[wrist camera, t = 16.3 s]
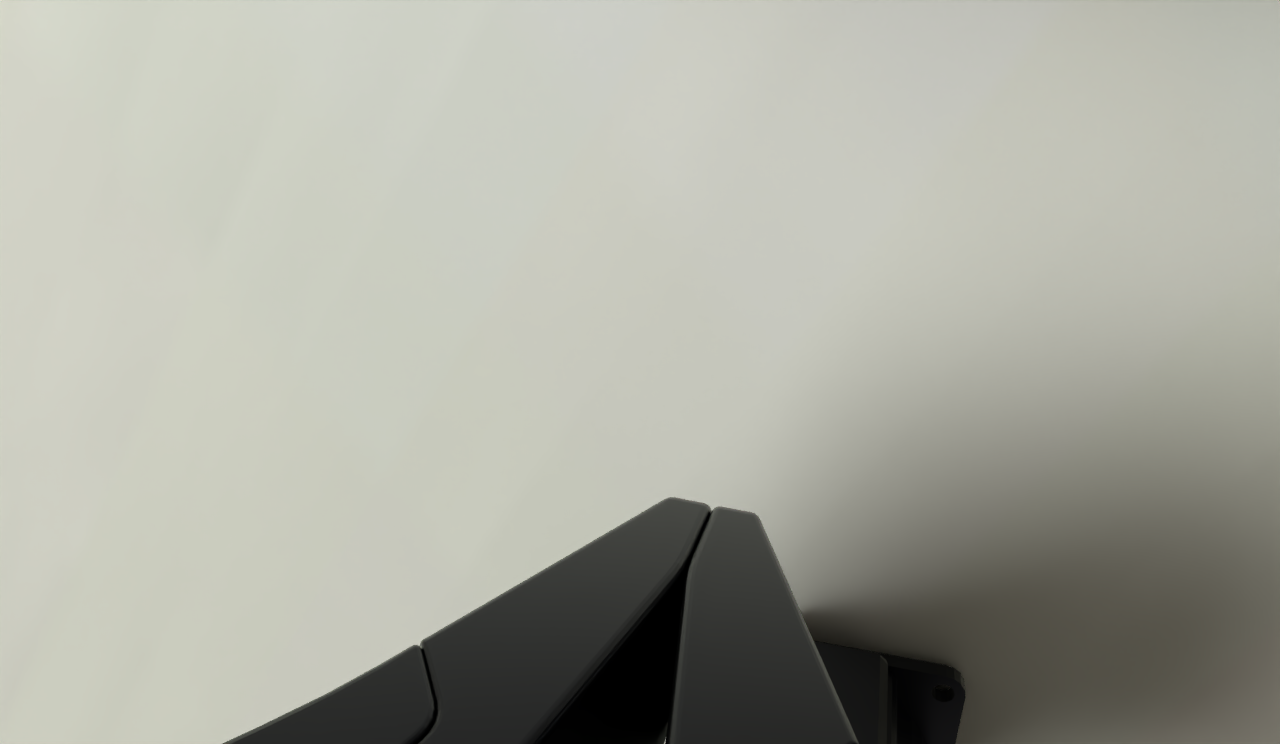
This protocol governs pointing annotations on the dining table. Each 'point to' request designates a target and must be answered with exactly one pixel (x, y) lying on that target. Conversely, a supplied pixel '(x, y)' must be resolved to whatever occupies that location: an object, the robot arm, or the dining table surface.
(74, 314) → the dining table surface
